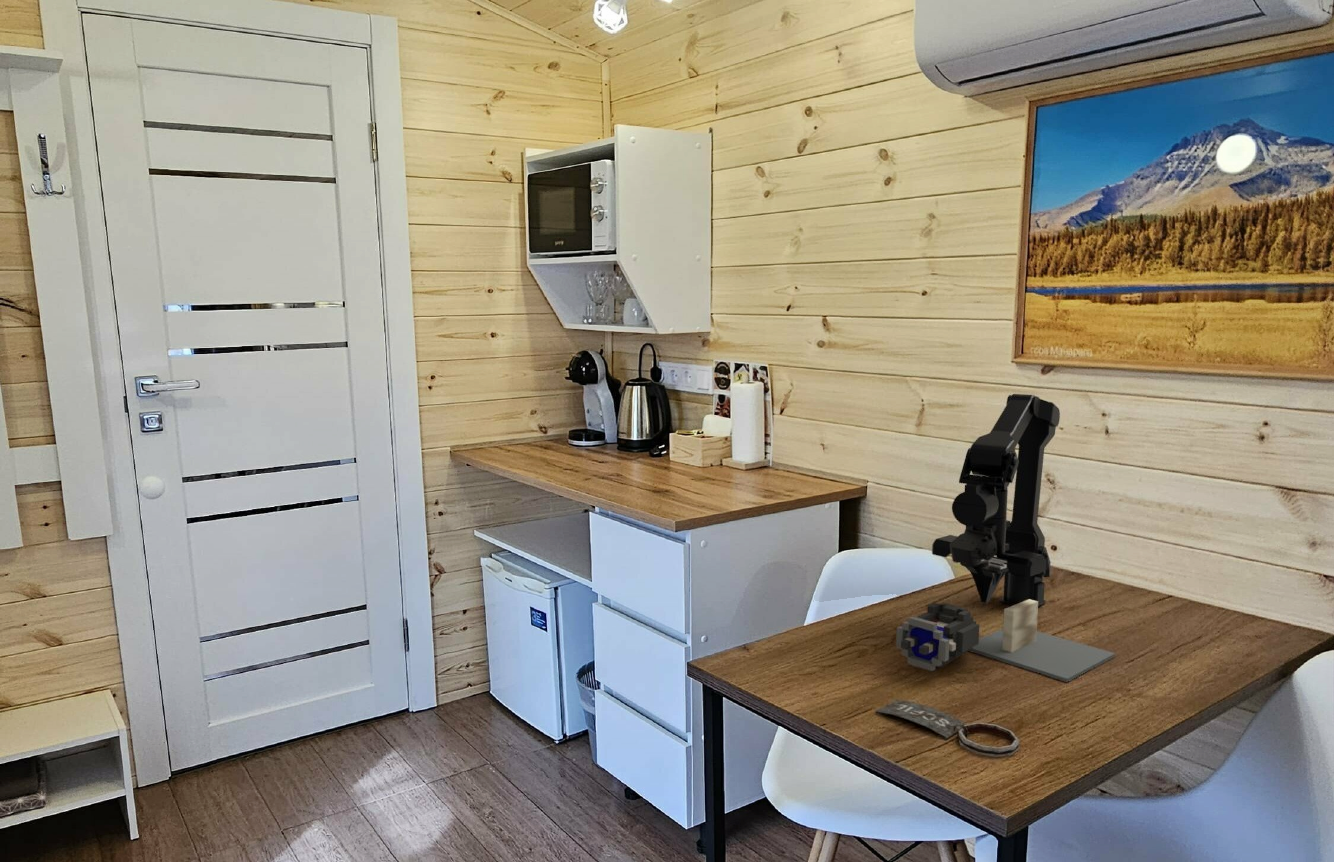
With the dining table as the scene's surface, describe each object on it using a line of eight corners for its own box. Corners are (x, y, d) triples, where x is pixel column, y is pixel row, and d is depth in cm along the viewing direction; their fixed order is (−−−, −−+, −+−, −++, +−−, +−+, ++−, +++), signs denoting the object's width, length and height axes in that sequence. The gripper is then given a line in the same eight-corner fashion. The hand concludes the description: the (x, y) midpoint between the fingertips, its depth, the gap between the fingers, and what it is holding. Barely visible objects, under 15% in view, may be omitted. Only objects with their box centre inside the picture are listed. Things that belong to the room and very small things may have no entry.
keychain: (902, 701, 130) (902, 689, 130) (1029, 746, 116) (1030, 732, 116) (872, 718, 125) (872, 704, 125) (1002, 767, 111) (1002, 752, 111)
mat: (962, 648, 149) (962, 645, 149) (1012, 627, 159) (1013, 624, 159) (1067, 682, 135) (1067, 678, 135) (1114, 656, 145) (1115, 653, 145)
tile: (1026, 638, 152) (1028, 598, 151) (1036, 640, 151) (1038, 601, 150) (1001, 649, 147) (1003, 608, 146) (1011, 652, 146) (1013, 611, 145)
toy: (889, 617, 140) (938, 596, 150) (888, 669, 141) (936, 645, 151) (939, 631, 133) (986, 608, 144) (937, 685, 135) (984, 659, 145)
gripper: (914, 512, 154) (912, 599, 156) (1014, 532, 140) (1010, 627, 142) (951, 504, 161) (948, 586, 163) (1050, 522, 147) (1045, 612, 149)
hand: (985, 602), depth 154 cm, fingers closed
